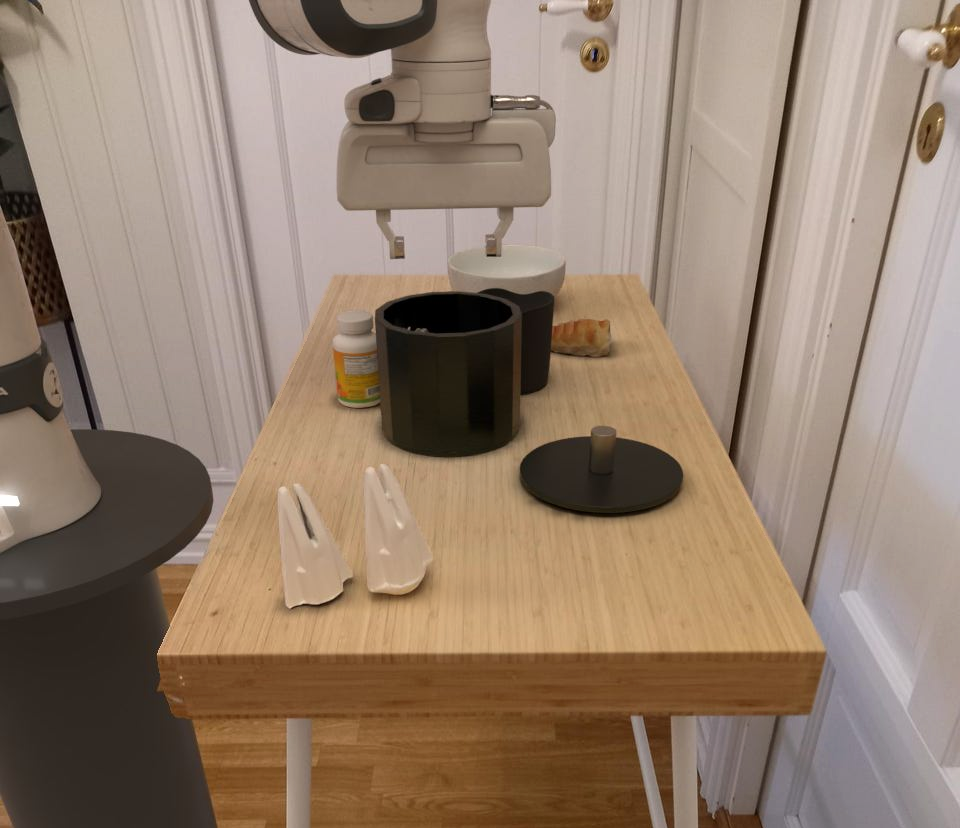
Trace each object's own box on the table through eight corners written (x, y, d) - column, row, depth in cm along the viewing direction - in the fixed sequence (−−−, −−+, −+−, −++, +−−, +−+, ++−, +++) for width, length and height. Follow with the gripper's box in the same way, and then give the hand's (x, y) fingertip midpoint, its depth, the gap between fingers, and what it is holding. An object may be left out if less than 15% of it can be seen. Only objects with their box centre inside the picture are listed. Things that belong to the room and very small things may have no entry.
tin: (382, 459, 99) (373, 338, 92) (383, 404, 111) (376, 293, 104) (525, 454, 100) (528, 333, 92) (511, 400, 112) (513, 289, 104)
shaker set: (434, 574, 81) (429, 451, 74) (436, 601, 77) (431, 475, 71) (289, 581, 80) (271, 458, 73) (285, 609, 76) (266, 482, 70)
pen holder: (520, 363, 122) (521, 281, 116) (567, 385, 115) (571, 300, 109) (458, 379, 117) (456, 295, 112) (503, 403, 111) (503, 315, 105)
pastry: (537, 356, 124) (538, 326, 122) (540, 339, 129) (541, 310, 127) (611, 358, 123) (613, 328, 121) (611, 341, 128) (613, 312, 126)
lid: (529, 522, 88) (530, 469, 85) (512, 449, 101) (512, 401, 98) (700, 515, 89) (707, 463, 86) (661, 443, 102) (666, 396, 99)
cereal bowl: (440, 296, 146) (439, 246, 141) (548, 289, 148) (549, 240, 144) (459, 331, 132) (458, 278, 128) (577, 323, 134) (579, 271, 130)
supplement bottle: (341, 391, 114) (334, 308, 109) (387, 391, 114) (381, 308, 109) (334, 408, 110) (326, 323, 104) (381, 409, 110) (375, 323, 104)
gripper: (551, 90, 90) (545, 246, 98) (330, 93, 89) (343, 250, 97) (561, 98, 85) (555, 262, 93) (328, 101, 84) (341, 267, 92)
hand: (445, 256), depth 95 cm, fingers open, 8 cm apart
